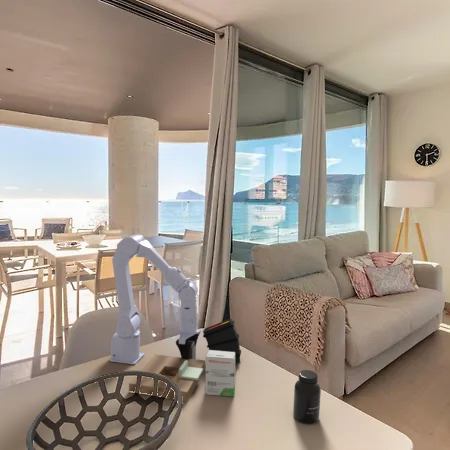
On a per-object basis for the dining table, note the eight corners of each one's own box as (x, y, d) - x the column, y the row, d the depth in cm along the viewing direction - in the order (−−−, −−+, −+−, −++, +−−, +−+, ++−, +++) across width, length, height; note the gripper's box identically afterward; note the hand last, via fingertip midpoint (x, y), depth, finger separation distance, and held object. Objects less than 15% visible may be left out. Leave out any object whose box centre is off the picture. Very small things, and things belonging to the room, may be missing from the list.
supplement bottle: (314, 428, 89) (316, 384, 88) (289, 419, 93) (291, 376, 91) (322, 414, 95) (324, 372, 94) (298, 405, 98) (300, 365, 97)
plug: (181, 363, 121) (181, 344, 120) (184, 358, 125) (185, 339, 124) (192, 365, 120) (192, 345, 119) (195, 359, 124) (195, 340, 123)
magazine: (248, 360, 121) (230, 321, 120) (214, 373, 123) (196, 334, 123) (249, 355, 124) (232, 317, 124) (216, 367, 127) (199, 330, 126)
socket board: (128, 393, 103) (128, 383, 103) (155, 362, 121) (155, 354, 121) (187, 401, 99) (187, 391, 99) (205, 369, 118) (205, 360, 117)
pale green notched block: (178, 377, 106) (178, 369, 106) (185, 368, 112) (185, 360, 112) (197, 380, 105) (197, 372, 105) (203, 370, 111) (203, 362, 110)
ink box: (235, 388, 107) (236, 351, 105) (233, 397, 102) (234, 358, 101) (207, 385, 108) (208, 348, 107) (204, 394, 103) (205, 356, 102)
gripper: (193, 326, 113) (193, 366, 114) (205, 311, 127) (205, 347, 128) (172, 324, 114) (173, 364, 116) (186, 310, 129) (186, 345, 130)
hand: (188, 355), depth 122 cm, fingers open, 7 cm apart
